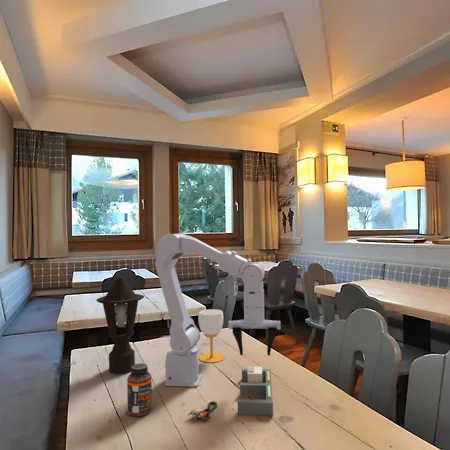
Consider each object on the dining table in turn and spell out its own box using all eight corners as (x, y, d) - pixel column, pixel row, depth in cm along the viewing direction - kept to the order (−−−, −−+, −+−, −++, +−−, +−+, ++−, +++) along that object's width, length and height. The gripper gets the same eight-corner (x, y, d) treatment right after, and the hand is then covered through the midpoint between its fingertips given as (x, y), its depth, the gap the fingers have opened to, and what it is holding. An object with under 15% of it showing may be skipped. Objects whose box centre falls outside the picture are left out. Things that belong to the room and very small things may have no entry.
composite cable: (211, 403, 93) (211, 394, 93) (227, 408, 91) (226, 398, 91) (186, 421, 85) (186, 410, 85) (202, 427, 83) (202, 416, 83)
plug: (248, 391, 99) (247, 372, 99) (248, 383, 104) (248, 365, 104) (262, 391, 99) (262, 372, 99) (262, 384, 104) (261, 365, 104)
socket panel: (237, 414, 87) (237, 400, 87) (242, 378, 107) (242, 367, 107) (273, 415, 86) (272, 401, 86) (270, 379, 107) (270, 367, 107)
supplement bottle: (139, 420, 86) (138, 372, 86) (122, 413, 89) (121, 367, 89) (157, 409, 91) (156, 364, 91) (140, 403, 94) (139, 360, 94)
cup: (229, 356, 127) (228, 310, 127) (215, 364, 119) (214, 316, 119) (208, 352, 131) (207, 308, 132) (193, 360, 124) (192, 313, 124)
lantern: (140, 358, 127) (138, 273, 127) (150, 372, 114) (148, 278, 114) (95, 365, 121) (93, 276, 121) (101, 382, 107) (98, 282, 107)
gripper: (227, 309, 98) (228, 359, 98) (280, 309, 97) (282, 359, 97) (229, 303, 105) (230, 350, 105) (279, 303, 104) (280, 350, 104)
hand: (255, 354), depth 102 cm, fingers open, 7 cm apart
